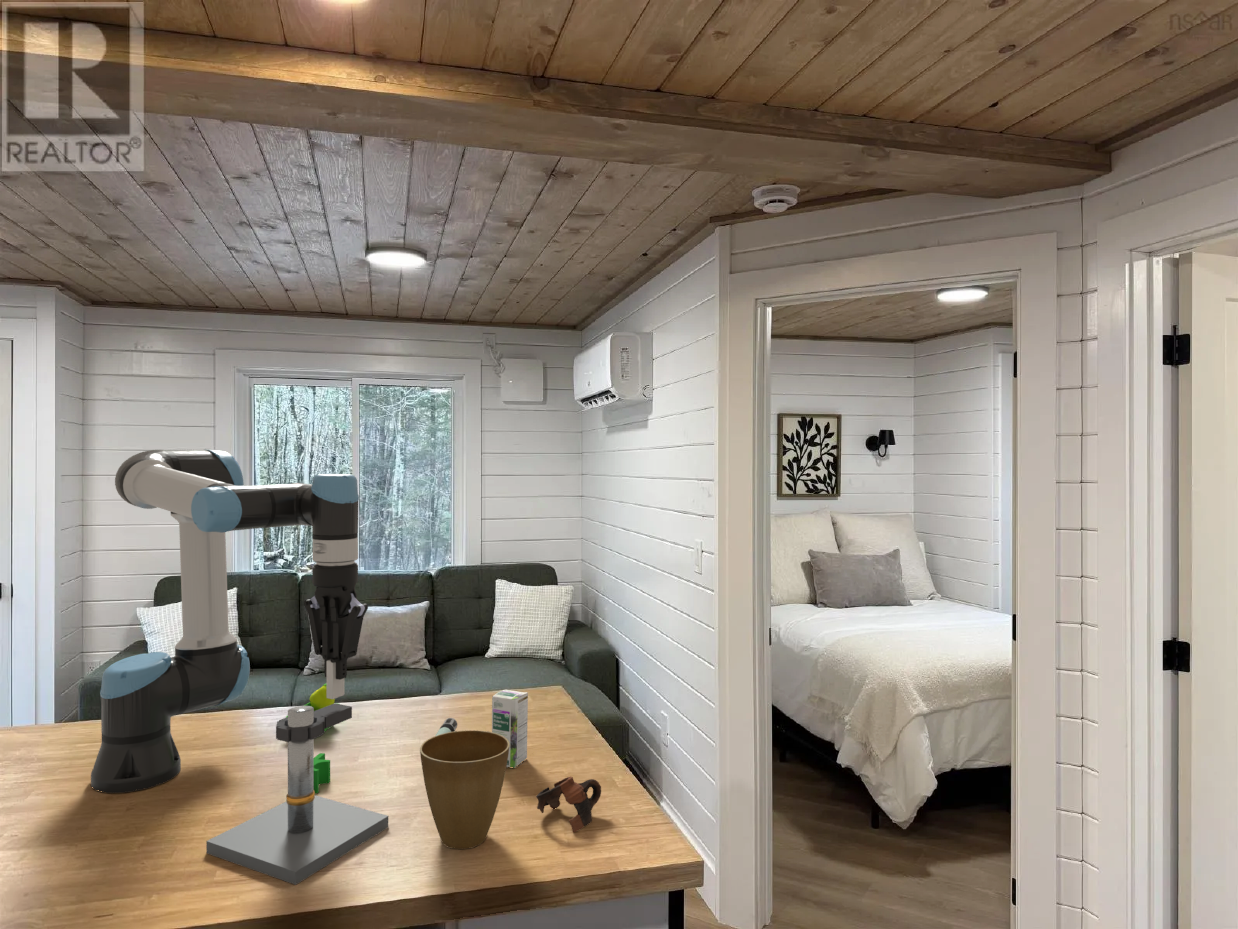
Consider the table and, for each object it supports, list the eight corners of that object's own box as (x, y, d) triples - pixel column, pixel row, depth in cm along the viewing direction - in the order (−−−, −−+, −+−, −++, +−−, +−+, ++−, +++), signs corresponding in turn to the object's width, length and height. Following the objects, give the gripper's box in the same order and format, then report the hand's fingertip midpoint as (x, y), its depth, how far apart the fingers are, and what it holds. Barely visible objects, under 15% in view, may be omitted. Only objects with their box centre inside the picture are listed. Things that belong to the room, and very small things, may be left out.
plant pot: (515, 854, 128) (516, 757, 128) (421, 867, 124) (421, 766, 123) (502, 812, 142) (503, 725, 142) (417, 823, 138) (418, 733, 138)
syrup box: (490, 765, 163) (490, 696, 163) (504, 754, 169) (505, 687, 168) (514, 769, 161) (514, 699, 161) (528, 759, 167) (528, 691, 166)
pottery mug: (562, 842, 133) (542, 795, 135) (543, 844, 141) (524, 799, 142) (618, 807, 140) (598, 762, 142) (597, 810, 147) (578, 768, 149)
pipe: (280, 830, 131) (280, 711, 130) (301, 819, 135) (301, 703, 134) (299, 836, 129) (299, 716, 128) (320, 825, 133) (320, 708, 132)
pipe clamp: (309, 802, 146) (308, 777, 146) (290, 800, 147) (289, 776, 147) (337, 776, 157) (337, 753, 157) (319, 775, 158) (319, 752, 158)
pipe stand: (206, 853, 127) (206, 841, 127) (304, 803, 145) (304, 792, 145) (295, 885, 118) (295, 871, 118) (388, 827, 136) (388, 815, 136)
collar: (266, 737, 130) (266, 725, 130) (328, 712, 142) (328, 701, 141) (299, 745, 126) (299, 732, 126) (359, 719, 138) (359, 708, 138)
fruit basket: (310, 722, 187) (311, 675, 187) (346, 724, 186) (346, 677, 186) (284, 739, 176) (284, 689, 175) (321, 742, 175) (321, 692, 174)
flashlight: (445, 758, 163) (464, 723, 183) (426, 748, 163) (448, 714, 183) (437, 771, 163) (458, 735, 183) (419, 761, 163) (441, 726, 183)
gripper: (291, 562, 137) (291, 697, 137) (347, 568, 131) (347, 708, 132) (324, 557, 144) (324, 685, 144) (379, 562, 138) (379, 695, 138)
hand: (335, 696), depth 138 cm, fingers closed
